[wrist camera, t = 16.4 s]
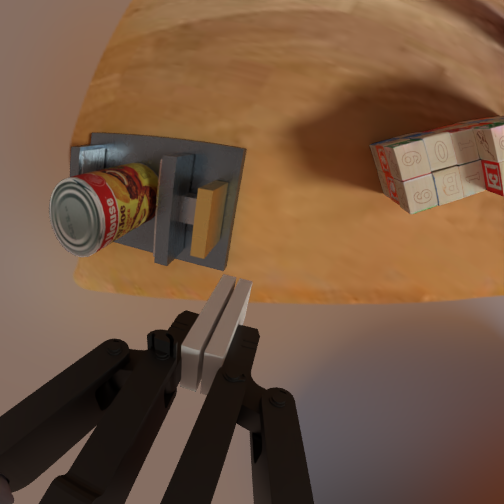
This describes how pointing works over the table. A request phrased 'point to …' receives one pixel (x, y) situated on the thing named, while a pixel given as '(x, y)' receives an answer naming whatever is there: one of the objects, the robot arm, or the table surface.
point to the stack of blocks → (442, 163)
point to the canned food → (102, 206)
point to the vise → (150, 153)
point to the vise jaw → (185, 210)
